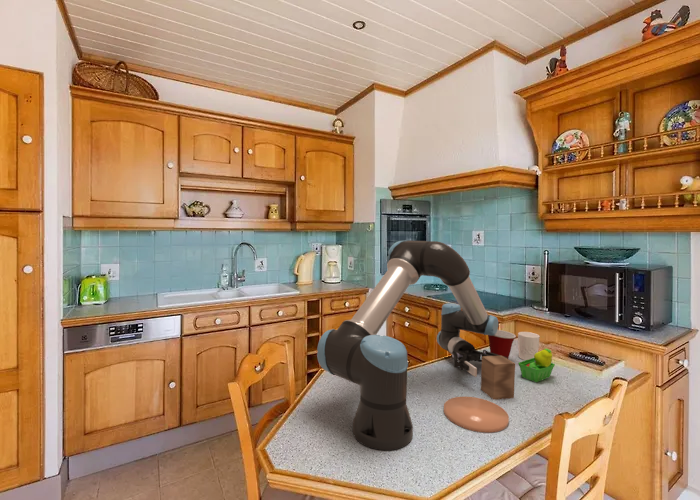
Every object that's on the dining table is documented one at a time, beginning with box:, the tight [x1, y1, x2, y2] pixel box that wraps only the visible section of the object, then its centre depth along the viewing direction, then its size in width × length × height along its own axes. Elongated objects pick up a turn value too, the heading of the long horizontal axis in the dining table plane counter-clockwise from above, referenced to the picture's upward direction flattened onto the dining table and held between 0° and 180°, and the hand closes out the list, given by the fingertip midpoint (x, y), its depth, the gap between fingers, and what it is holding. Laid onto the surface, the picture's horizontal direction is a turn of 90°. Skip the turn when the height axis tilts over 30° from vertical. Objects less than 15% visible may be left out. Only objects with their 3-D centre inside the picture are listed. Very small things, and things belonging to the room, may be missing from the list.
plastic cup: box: [487, 329, 517, 359], centre depth 137 cm, size 11×11×12 cm
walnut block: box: [480, 355, 516, 401], centre depth 109 cm, size 7×7×11 cm
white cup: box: [517, 331, 541, 361], centre depth 141 cm, size 8×8×10 cm
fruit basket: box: [518, 347, 556, 383], centre depth 122 cm, size 11×9×11 cm
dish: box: [443, 396, 510, 434], centre depth 96 cm, size 17×17×1 cm
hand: (494, 371), depth 111 cm, fingers open, 13 cm apart
